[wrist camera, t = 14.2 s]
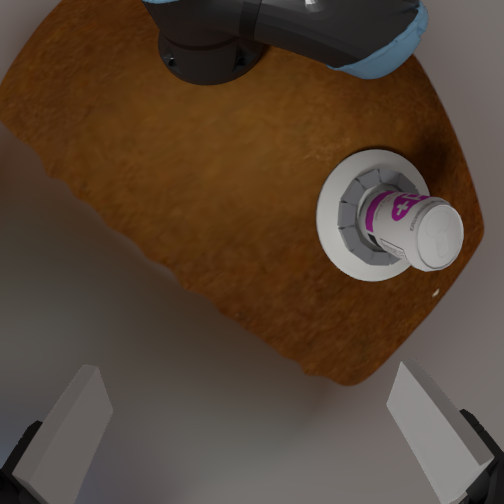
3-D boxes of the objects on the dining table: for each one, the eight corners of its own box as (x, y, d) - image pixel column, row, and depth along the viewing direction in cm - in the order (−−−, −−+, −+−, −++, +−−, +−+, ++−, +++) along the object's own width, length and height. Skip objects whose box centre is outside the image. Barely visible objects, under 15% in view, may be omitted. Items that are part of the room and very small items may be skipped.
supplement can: (349, 200, 39) (403, 214, 25) (395, 182, 39) (460, 189, 24) (364, 252, 41) (418, 287, 27) (408, 232, 41) (470, 257, 26)
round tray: (319, 141, 38) (325, 139, 36) (431, 161, 39) (441, 161, 37) (309, 278, 43) (314, 284, 40) (418, 278, 44) (426, 283, 41)
